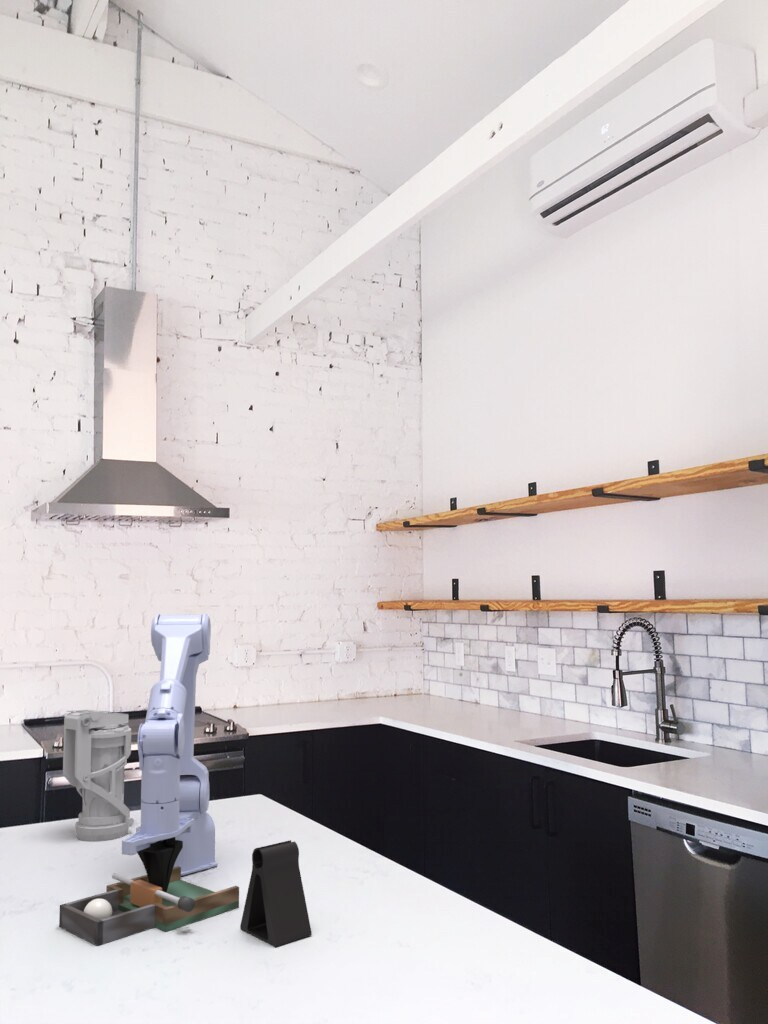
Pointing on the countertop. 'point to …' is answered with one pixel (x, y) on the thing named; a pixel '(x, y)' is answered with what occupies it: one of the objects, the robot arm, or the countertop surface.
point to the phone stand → (276, 896)
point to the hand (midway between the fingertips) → (159, 892)
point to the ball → (99, 909)
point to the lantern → (98, 771)
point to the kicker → (152, 894)
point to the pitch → (144, 910)
